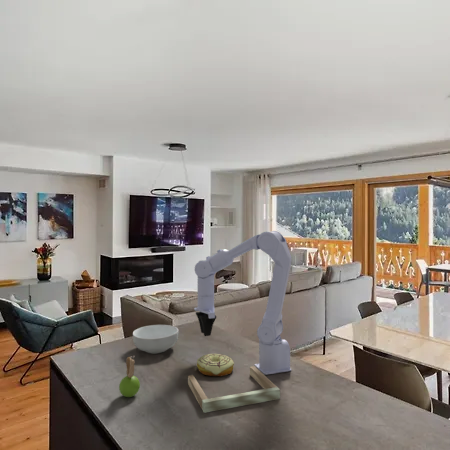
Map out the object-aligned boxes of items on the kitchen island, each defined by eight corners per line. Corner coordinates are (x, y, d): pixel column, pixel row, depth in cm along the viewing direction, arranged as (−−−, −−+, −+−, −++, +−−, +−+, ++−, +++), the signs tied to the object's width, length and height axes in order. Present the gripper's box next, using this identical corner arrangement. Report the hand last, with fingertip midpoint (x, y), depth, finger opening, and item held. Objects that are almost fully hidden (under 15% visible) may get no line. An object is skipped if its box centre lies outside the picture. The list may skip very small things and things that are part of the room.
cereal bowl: (142, 341, 142) (142, 323, 142) (183, 343, 140) (183, 325, 140) (125, 357, 125) (124, 336, 125) (171, 359, 123) (171, 339, 123)
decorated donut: (219, 382, 106) (219, 368, 106) (189, 372, 113) (189, 359, 113) (240, 369, 115) (240, 356, 115) (211, 361, 122) (211, 349, 122)
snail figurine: (122, 404, 93) (122, 358, 93) (117, 394, 98) (117, 350, 98) (143, 399, 95) (143, 354, 95) (137, 389, 101) (137, 347, 101)
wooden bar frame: (254, 374, 111) (254, 366, 111) (279, 398, 95) (279, 389, 95) (188, 384, 104) (188, 375, 104) (203, 412, 88) (203, 402, 88)
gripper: (189, 291, 129) (189, 329, 130) (200, 299, 116) (200, 341, 116) (208, 290, 132) (208, 327, 132) (220, 298, 118) (221, 339, 118)
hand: (205, 334), depth 124 cm, fingers open, 3 cm apart
